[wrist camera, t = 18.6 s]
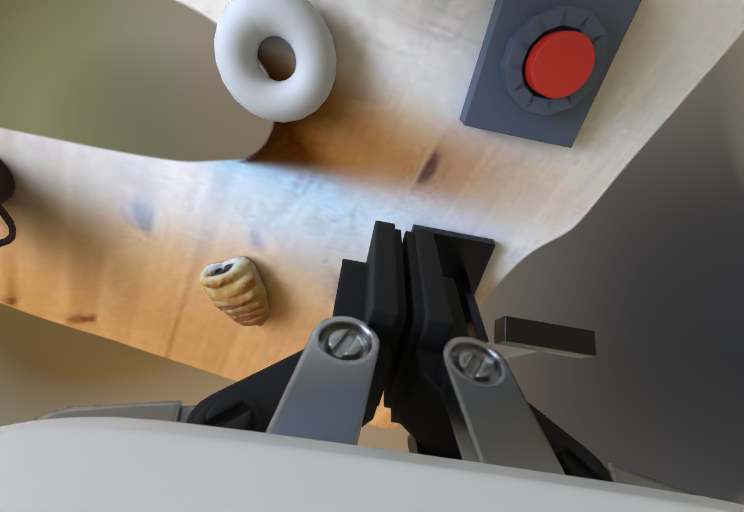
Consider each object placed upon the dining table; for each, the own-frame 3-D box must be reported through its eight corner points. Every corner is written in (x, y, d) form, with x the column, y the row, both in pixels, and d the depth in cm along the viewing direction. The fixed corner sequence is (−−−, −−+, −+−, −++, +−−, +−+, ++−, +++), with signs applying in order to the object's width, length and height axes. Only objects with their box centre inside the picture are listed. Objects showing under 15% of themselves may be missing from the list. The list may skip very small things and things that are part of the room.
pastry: (285, 311, 48) (277, 332, 44) (238, 322, 49) (227, 343, 46) (249, 250, 43) (238, 269, 40) (199, 264, 44) (184, 284, 41)
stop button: (539, 24, 28) (547, 24, 26) (595, 37, 28) (606, 38, 27) (515, 88, 30) (522, 91, 28) (567, 99, 30) (577, 103, 29)
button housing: (509, -43, 29) (525, -51, 25) (632, -12, 29) (664, -16, 26) (459, 119, 35) (467, 130, 31) (561, 141, 36) (580, 154, 32)
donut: (281, 139, 36) (363, 69, 33) (272, 150, 34) (360, 74, 30) (199, 44, 32) (281, -47, 29) (180, 48, 29) (269, -53, 26)
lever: (505, 305, 20) (504, 351, 19) (594, 320, 20) (598, 367, 19) (424, 344, 35) (422, 371, 34) (476, 353, 35) (475, 380, 34)
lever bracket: (413, 224, 41) (425, 315, 28) (493, 239, 41) (539, 334, 29) (389, 308, 47) (390, 413, 34) (459, 320, 48) (485, 427, 35)
